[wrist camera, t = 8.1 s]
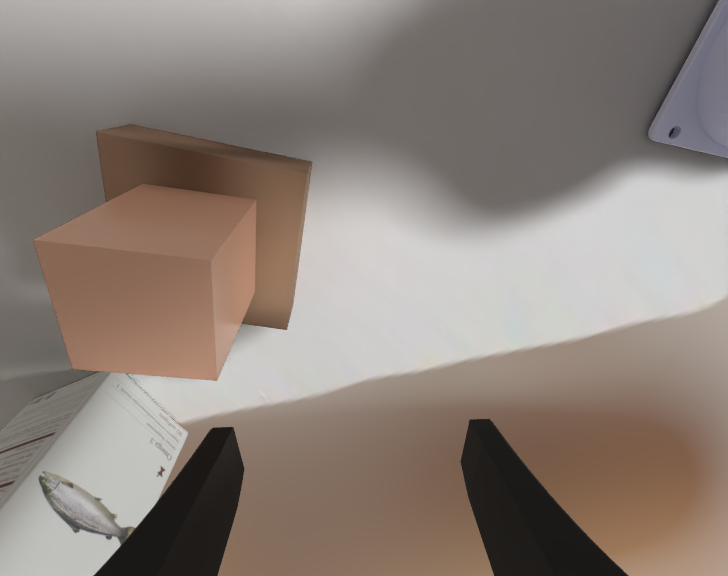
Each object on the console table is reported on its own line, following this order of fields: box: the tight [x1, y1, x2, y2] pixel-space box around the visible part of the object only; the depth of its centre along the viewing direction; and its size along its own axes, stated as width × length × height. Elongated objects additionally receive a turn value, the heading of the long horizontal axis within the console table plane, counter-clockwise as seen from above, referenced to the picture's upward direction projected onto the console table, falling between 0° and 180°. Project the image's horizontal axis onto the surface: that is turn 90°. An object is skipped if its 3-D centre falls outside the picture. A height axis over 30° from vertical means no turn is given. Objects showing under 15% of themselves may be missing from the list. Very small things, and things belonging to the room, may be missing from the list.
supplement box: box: [0, 371, 188, 576], centre depth 19 cm, size 7×7×13 cm
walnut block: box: [96, 124, 312, 330], centre depth 17 cm, size 8×8×3 cm
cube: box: [33, 184, 256, 381], centre depth 13 cm, size 4×4×6 cm
